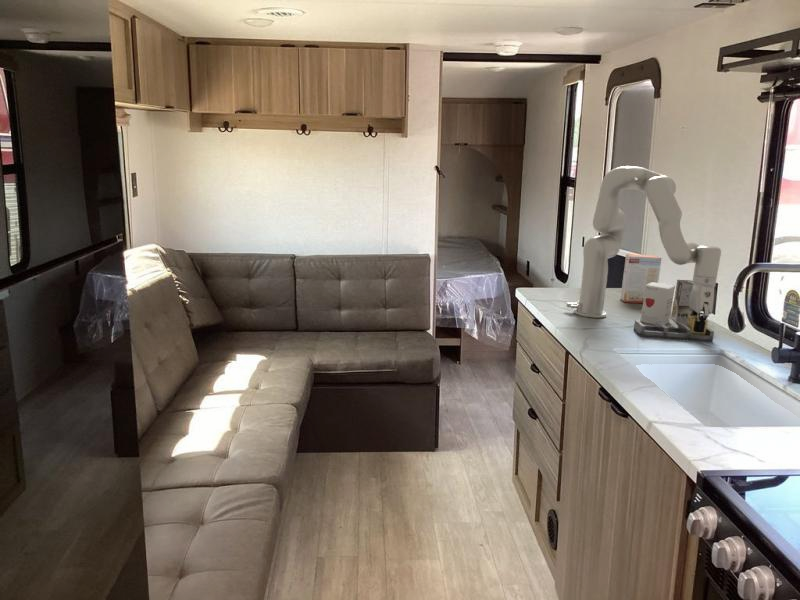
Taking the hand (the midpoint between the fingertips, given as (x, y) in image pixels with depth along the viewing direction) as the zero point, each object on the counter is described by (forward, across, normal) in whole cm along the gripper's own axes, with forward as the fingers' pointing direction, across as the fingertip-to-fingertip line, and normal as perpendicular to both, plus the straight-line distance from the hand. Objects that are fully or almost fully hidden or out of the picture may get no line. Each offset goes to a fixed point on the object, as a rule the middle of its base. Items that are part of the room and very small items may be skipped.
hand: (695, 329), depth 232 cm
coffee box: (+3, +24, -4) cm, 25 cm away
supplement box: (+3, +19, +8) cm, 21 cm away
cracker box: (+4, +55, +5) cm, 56 cm away
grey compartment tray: (+3, 0, +8) cm, 9 cm away
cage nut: (+1, 0, 0) cm, 1 cm away
